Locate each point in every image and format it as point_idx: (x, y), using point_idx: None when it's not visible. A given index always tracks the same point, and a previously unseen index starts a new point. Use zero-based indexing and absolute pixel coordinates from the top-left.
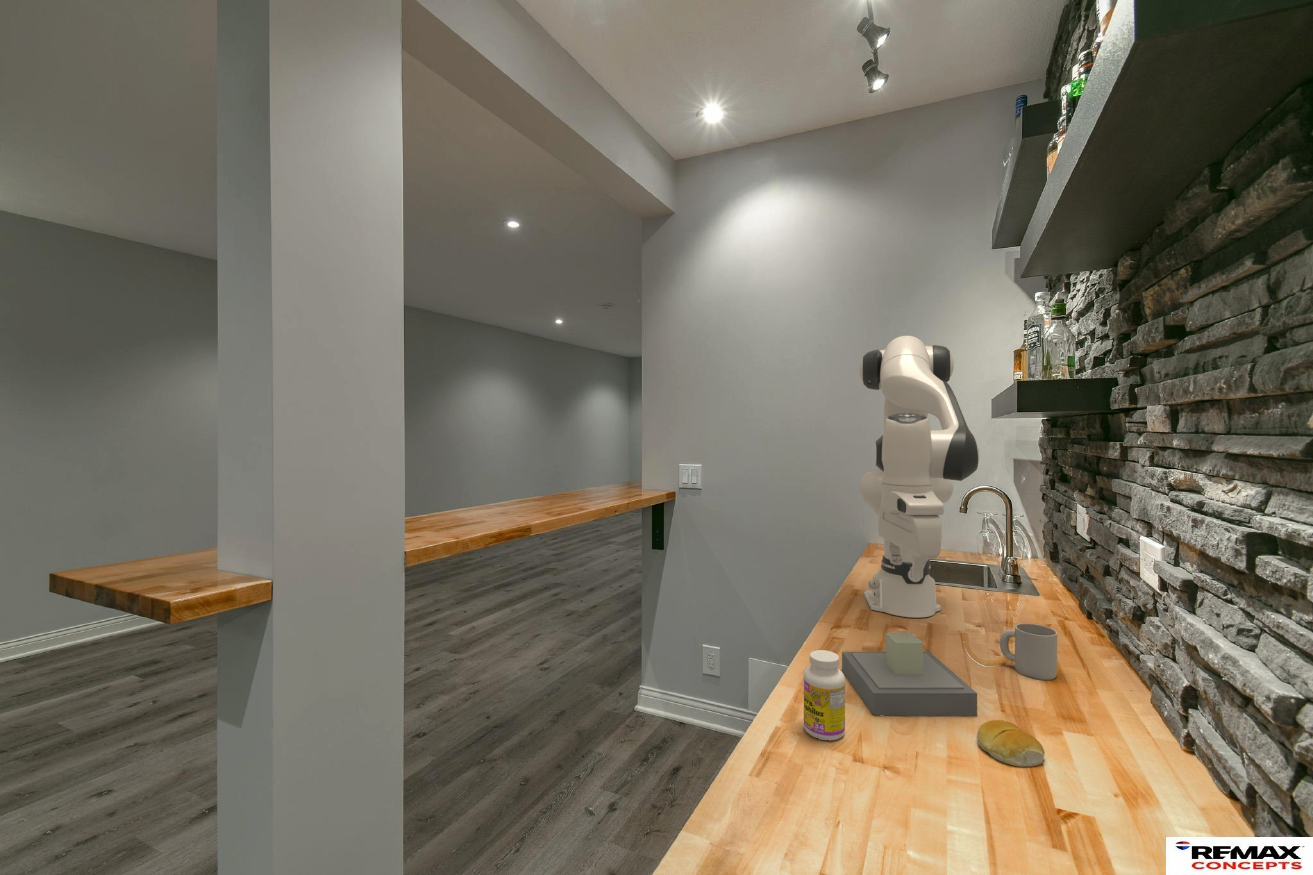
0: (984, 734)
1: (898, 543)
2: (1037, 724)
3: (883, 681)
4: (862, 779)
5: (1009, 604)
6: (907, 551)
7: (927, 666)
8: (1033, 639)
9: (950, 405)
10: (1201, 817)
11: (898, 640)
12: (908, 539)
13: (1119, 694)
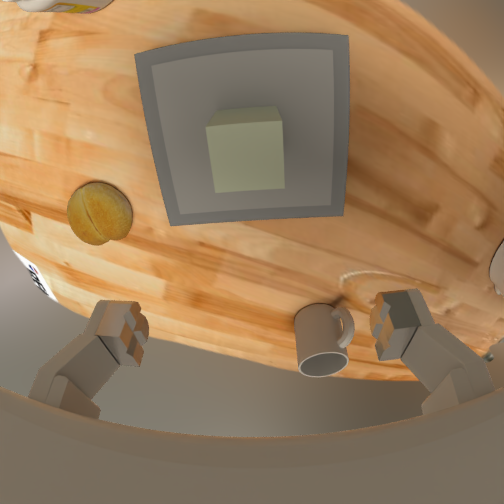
0: (88, 194)
1: (188, 465)
2: (173, 264)
3: (180, 78)
4: (15, 45)
5: (470, 347)
6: (56, 410)
7: None
8: (304, 353)
9: None
10: (67, 297)
11: (225, 138)
12: (13, 478)
13: (261, 353)
